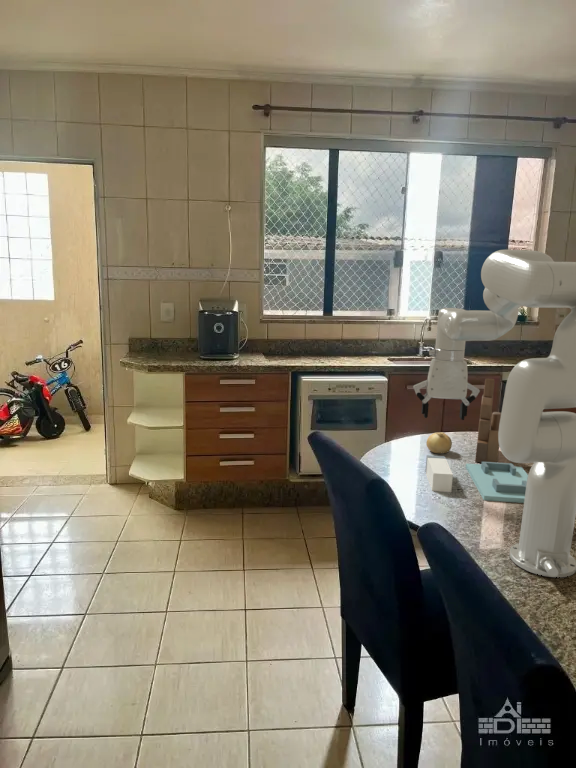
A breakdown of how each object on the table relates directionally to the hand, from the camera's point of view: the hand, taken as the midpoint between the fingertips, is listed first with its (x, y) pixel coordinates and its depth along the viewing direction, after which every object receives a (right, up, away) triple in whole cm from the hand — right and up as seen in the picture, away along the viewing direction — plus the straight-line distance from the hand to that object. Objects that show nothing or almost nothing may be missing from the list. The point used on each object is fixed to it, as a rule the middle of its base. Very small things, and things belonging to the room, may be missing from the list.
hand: (443, 417), depth 153 cm
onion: (+6, -13, +29) cm, 32 cm away
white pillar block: (-1, -18, +4) cm, 19 cm away
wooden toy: (+21, -14, +26) cm, 36 cm away
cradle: (+17, -19, +3) cm, 26 cm away
